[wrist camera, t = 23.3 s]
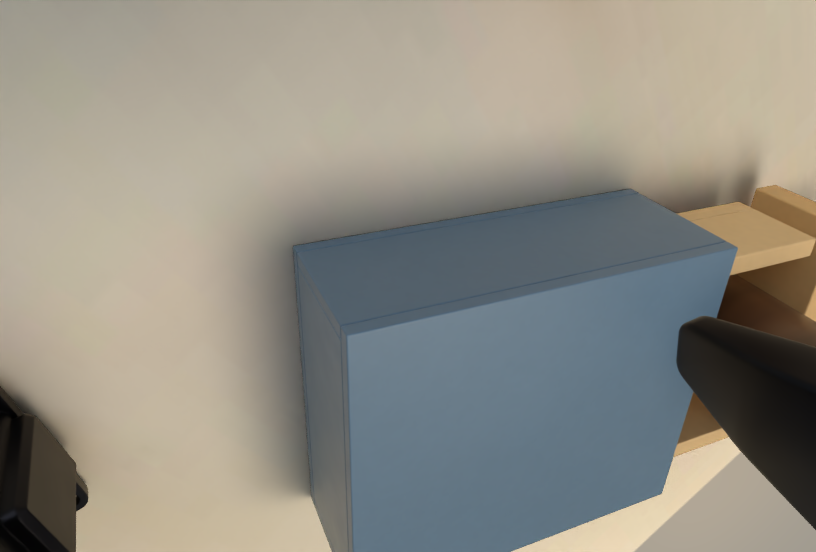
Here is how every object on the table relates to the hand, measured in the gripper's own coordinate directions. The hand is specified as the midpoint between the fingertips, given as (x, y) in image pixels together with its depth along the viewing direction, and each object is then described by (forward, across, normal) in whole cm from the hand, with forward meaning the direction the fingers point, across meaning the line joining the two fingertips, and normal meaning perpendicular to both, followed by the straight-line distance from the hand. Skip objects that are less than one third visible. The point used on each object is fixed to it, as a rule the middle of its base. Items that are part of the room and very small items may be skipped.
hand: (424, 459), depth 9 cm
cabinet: (+13, -6, +11) cm, 18 cm away
